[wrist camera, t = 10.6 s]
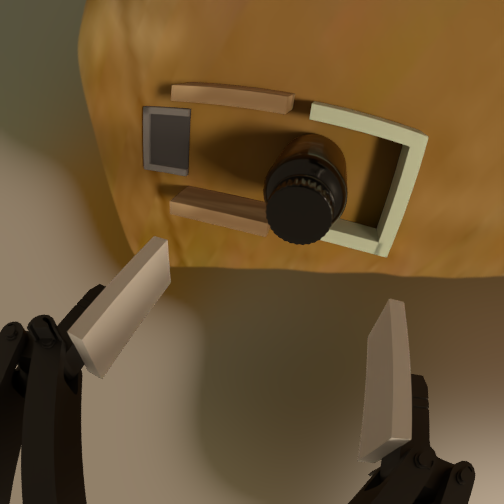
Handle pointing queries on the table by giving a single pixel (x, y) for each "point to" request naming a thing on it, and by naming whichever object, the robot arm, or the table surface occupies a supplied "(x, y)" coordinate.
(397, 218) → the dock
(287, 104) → the channel
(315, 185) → the supplement bottle
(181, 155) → the mat
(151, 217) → the table surface
